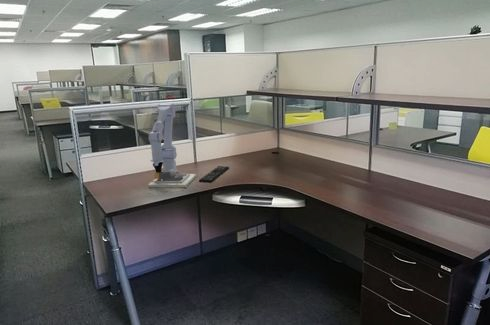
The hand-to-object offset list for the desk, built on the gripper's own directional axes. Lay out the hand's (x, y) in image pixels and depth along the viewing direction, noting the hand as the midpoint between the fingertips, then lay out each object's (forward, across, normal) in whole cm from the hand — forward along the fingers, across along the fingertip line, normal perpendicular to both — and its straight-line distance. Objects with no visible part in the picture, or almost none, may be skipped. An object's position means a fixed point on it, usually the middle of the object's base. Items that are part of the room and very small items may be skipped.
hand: (159, 174), depth 212 cm
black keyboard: (+5, -7, +33) cm, 34 cm away
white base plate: (+4, +3, +8) cm, 9 cm away
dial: (+2, +3, +6) cm, 7 cm away
